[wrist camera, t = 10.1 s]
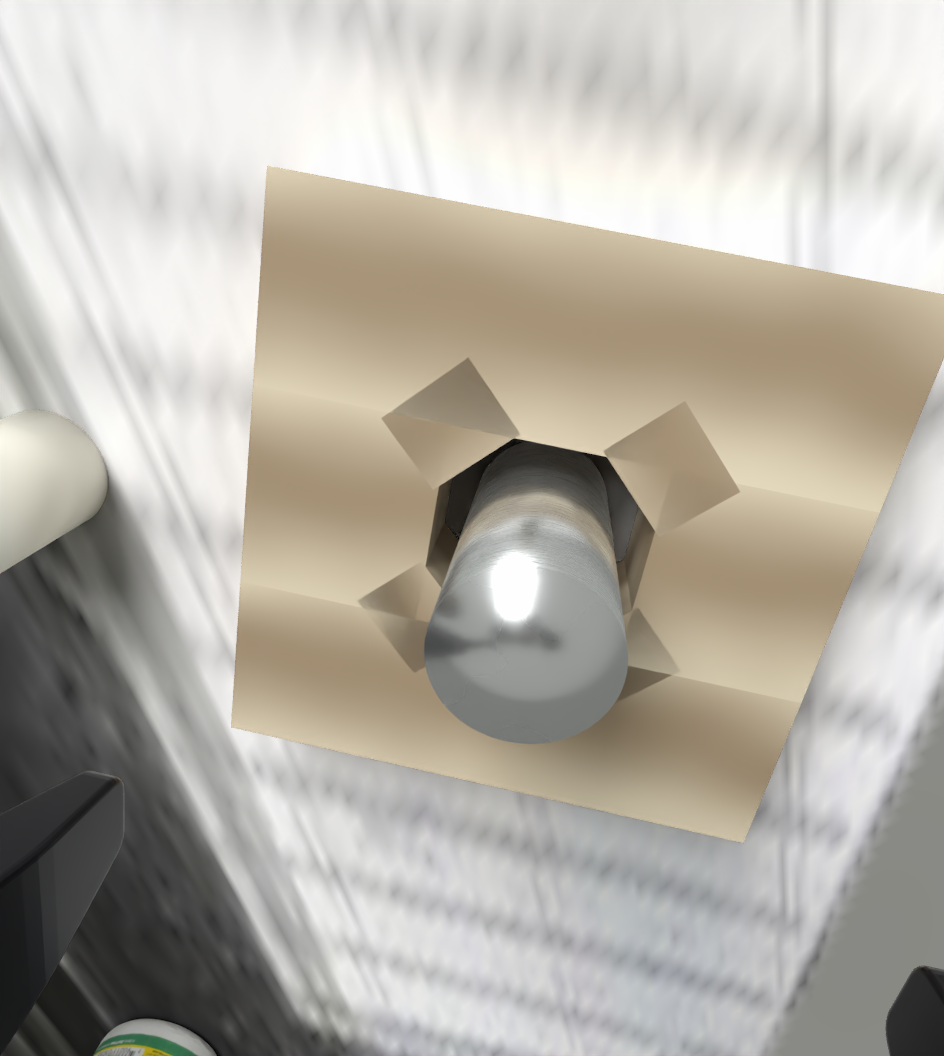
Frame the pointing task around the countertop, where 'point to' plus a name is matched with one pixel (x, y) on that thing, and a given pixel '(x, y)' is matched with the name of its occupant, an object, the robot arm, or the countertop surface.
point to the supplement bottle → (152, 1040)
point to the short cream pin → (45, 481)
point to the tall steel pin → (531, 602)
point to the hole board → (572, 423)
